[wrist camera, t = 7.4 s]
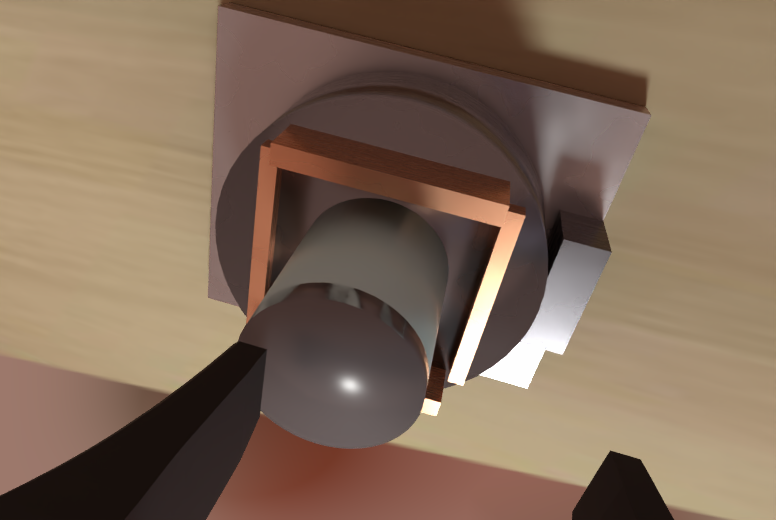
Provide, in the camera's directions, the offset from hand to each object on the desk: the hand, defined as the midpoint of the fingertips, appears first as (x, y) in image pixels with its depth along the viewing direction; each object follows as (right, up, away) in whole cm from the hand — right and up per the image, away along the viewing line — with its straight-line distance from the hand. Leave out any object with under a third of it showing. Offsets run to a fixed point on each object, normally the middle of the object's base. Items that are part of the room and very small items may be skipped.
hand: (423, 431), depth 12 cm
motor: (0, +5, +9) cm, 10 cm away
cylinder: (-1, +3, +5) cm, 6 cm away
